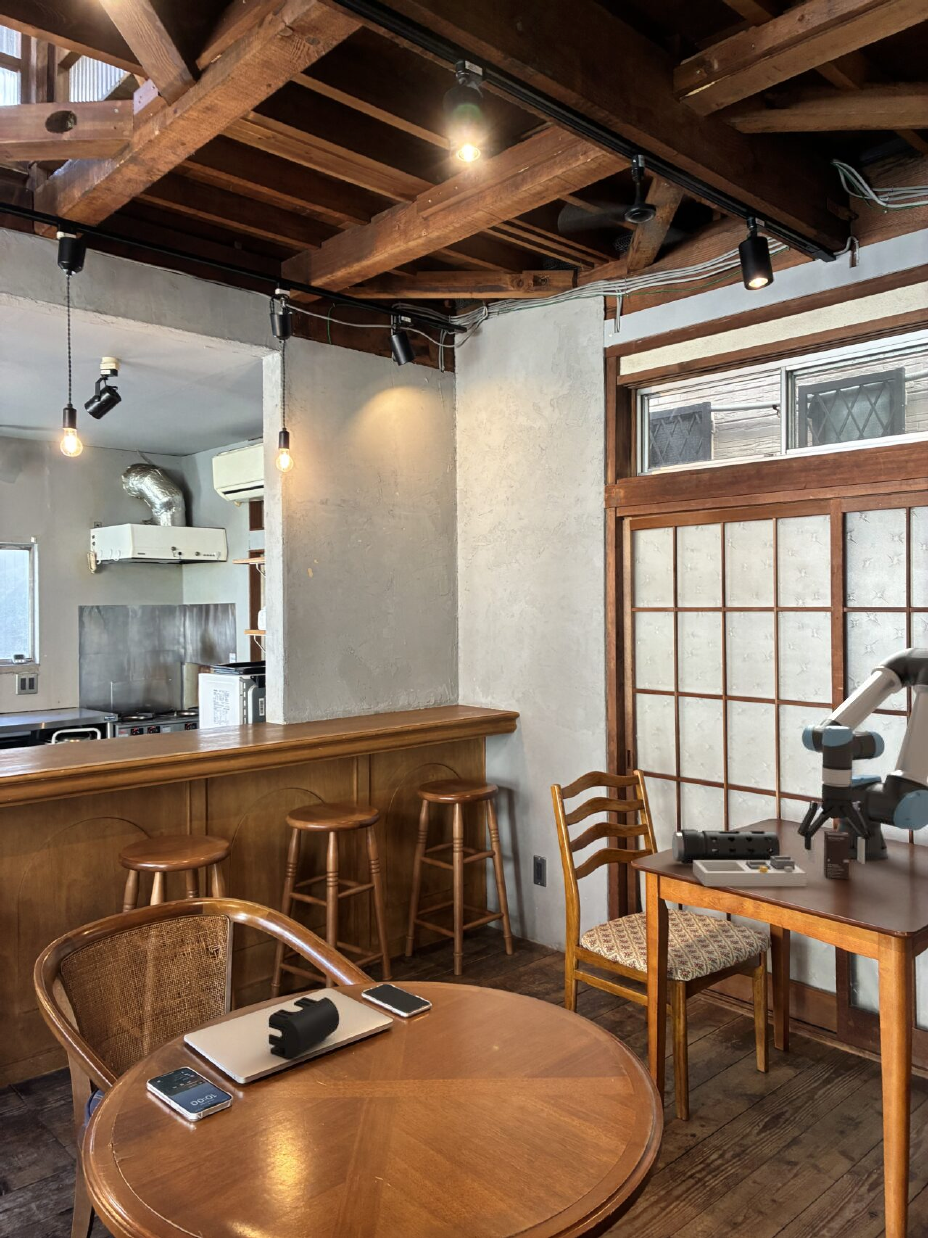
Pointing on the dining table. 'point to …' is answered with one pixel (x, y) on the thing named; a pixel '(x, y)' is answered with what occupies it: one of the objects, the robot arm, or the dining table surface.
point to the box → (836, 854)
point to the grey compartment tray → (745, 874)
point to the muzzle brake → (724, 845)
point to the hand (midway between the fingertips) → (836, 862)
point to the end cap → (302, 1026)
